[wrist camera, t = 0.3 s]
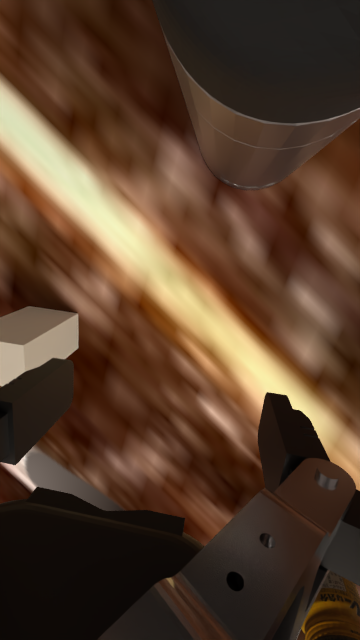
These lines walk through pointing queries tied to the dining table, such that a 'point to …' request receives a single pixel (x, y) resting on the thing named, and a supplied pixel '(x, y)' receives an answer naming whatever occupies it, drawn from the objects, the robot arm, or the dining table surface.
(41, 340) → the cream block
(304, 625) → the condiment
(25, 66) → the dining table surface
